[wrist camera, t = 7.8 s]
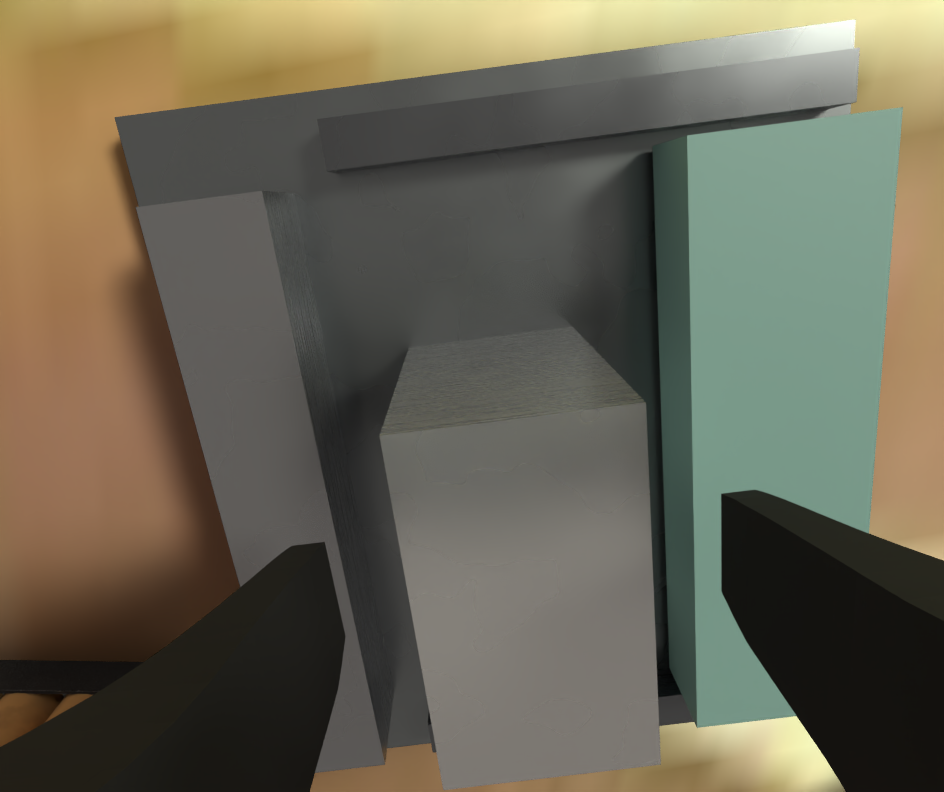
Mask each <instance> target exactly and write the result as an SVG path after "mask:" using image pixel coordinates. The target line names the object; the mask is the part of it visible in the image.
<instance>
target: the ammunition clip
mask: <svg viewBox="0 0 944 792" xmlns="http://www.w3.org/2000/svg"><path fill="white" fill-rule="evenodd" d="M142 663H143V662H103V661H33V660H0V747H1V746H3V745H5V744H7V743H9V742H11V741H13V740H14V739H16V738H18V737H20V736H22V735H24V734H26V733H28V732H29V731H31V730H33V729H35V728H36V727H38V726H40V725H42V724H43V723H45V722H47V721H49V720H50V719H52V718H54V717H56V716H57V715H59V714H61V713H63V712H64V711H66V710H68V709H70V708H71V707H73V706H75V705H77V704H78V703H80V702H82V701H84V700H85V699H87V698H89V697H91V696H92V695H94V694H96V693H97V692H99V691H100V690H102V689H104V688H105V687H107V686H108V685H110V684H112V683H113V682H115V681H116V680H118V679H119V678H121V677H122V676H124V675H125V674H127V673H128V672H130V671H131V670H133V669H134V668H136V667H138V666H139V665H140V664H142Z"/></svg>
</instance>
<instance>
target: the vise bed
mask: <svg viewBox="0 0 944 792" xmlns="http://www.w3.org/2000/svg"><path fill="white" fill-rule="evenodd" d="M855 22H856V20H848V21H840V22H833V23H825V24H818V25H810V26H803V27H795V28H787V29H780V30H772V31H765V32H757V33H750V34H742V35H734V36H727V37H719V38H712V39H704V40H697V41H689V42H682V43H674V44H666V45H659V46H651V47H644V48H636V49H629V50H621V51H613V52H606V53H598V54H591V55H583V56H576V57H568V58H560V59H553V60H545V61H538V62H530V63H523V64H515V65H507V66H500V67H492V68H485V69H477V70H470V71H462V72H454V73H447V74H439V75H432V76H424V77H417V78H409V79H402V80H394V81H386V82H379V83H371V84H364V85H356V86H349V87H341V88H333V89H326V90H318V91H311V92H303V93H296V94H288V95H280V96H273V97H265V98H258V99H250V100H243V101H235V102H227V103H220V104H212V105H205V106H197V107H190V108H182V109H175V110H167V111H159V112H152V113H144V114H137V115H129V116H122V117H115V121H116V125H117V128H118V132H119V135H120V139H121V143H122V146H123V150H124V154H125V157H126V161H127V165H128V168H129V172H130V176H131V179H132V183H133V187H134V190H135V194H136V198H137V201H138V205H139V207H136V210H137V214H138V218H139V221H140V225H141V229H142V232H143V236H144V239H145V243H146V247H147V250H148V254H149V258H150V261H151V265H152V269H153V272H154V276H155V279H156V283H157V287H158V290H159V294H160V298H161V301H162V305H163V308H164V312H165V316H166V319H167V323H168V327H169V330H170V334H171V338H172V341H173V345H174V348H175V352H176V356H177V359H178V363H179V367H180V370H181V374H182V377H183V381H184V385H185V388H186V392H187V396H188V399H189V403H190V407H191V410H192V414H193V417H194V421H195V425H196V428H197V432H198V436H199V439H200V443H201V447H202V450H203V454H204V457H205V461H206V465H207V468H208V472H209V476H210V479H211V483H212V486H213V490H214V494H215V497H216V501H217V505H218V508H219V512H220V516H221V519H222V523H223V526H224V530H225V534H226V537H227V541H228V545H229V548H230V552H231V555H232V559H233V563H234V566H235V570H236V574H237V577H238V581H239V585H240V587H241V586H243V585H244V584H245V583H246V582H247V581H249V580H250V579H251V578H252V577H253V576H254V575H256V574H257V573H258V572H259V571H260V570H261V569H263V568H264V567H265V566H266V565H267V564H269V563H270V562H271V561H272V560H273V559H275V558H276V557H277V556H278V555H280V554H281V553H282V552H284V551H285V550H286V549H288V548H289V547H291V546H294V545H302V544H310V543H319V542H325V545H326V550H327V554H328V559H329V563H330V568H331V572H332V577H333V581H334V586H335V590H336V595H337V600H338V604H339V609H340V613H341V618H342V622H343V627H344V631H345V636H346V637H345V644H344V652H343V660H342V667H341V674H340V680H339V687H338V691H337V695H336V699H335V703H334V706H333V710H332V713H331V717H330V721H329V724H328V728H327V732H326V735H325V739H324V742H323V746H322V749H321V753H320V756H319V760H318V763H317V767H316V771H315V773H317V772H326V771H334V770H343V769H351V768H360V767H368V766H377V765H385V760H386V752H387V748H393V747H401V746H410V745H418V744H427V743H431V745H432V750H433V752H436V746H435V741H434V735H433V729H432V724H431V718H430V713H429V707H428V702H427V696H426V691H425V685H424V680H423V674H422V669H421V663H420V658H419V652H418V647H417V641H416V636H415V630H414V624H413V619H412V613H411V608H410V602H409V597H408V591H407V586H406V580H405V575H404V569H403V564H402V558H401V553H400V547H399V542H398V536H397V531H396V525H395V520H394V514H393V508H392V503H391V497H390V492H389V486H388V481H387V475H386V470H385V464H384V459H383V453H382V448H381V442H380V437H379V436H380V433H381V430H382V427H383V424H384V421H385V418H386V415H387V412H388V409H389V406H390V403H391V400H392V397H393V394H394V391H395V388H396V385H397V382H398V379H399V376H400V373H401V370H402V367H403V364H404V361H405V358H406V355H407V352H408V349H409V347H417V346H425V345H433V344H440V343H448V342H456V341H464V340H472V339H480V338H488V337H496V336H504V335H511V334H519V333H527V332H535V331H543V330H551V329H559V328H567V327H573V328H574V329H575V330H576V331H577V332H578V333H579V334H580V335H581V336H582V337H583V338H584V339H585V340H586V341H587V342H588V343H589V344H590V345H591V346H592V347H593V348H594V349H595V351H596V352H597V353H598V354H599V355H600V356H601V357H602V358H603V359H604V360H605V361H606V362H607V363H608V364H609V365H610V366H611V367H612V368H613V369H614V370H615V371H616V372H617V373H618V374H619V375H620V376H621V377H622V378H623V379H624V380H625V381H626V383H627V384H628V385H629V386H630V387H631V388H632V389H633V390H634V391H635V392H636V393H637V394H638V395H639V396H640V397H641V398H642V399H643V400H644V401H645V402H646V414H647V439H648V464H649V488H650V513H651V538H652V562H653V587H654V611H655V636H656V661H657V685H658V710H659V726H662V725H670V724H679V723H687V722H694V720H693V718H692V716H691V713H690V711H689V709H688V707H687V705H686V703H685V700H684V698H683V696H682V694H681V692H680V690H679V687H678V685H677V683H676V681H675V679H674V677H673V674H672V672H671V670H670V668H669V637H668V606H667V575H666V545H665V514H664V483H663V453H662V422H661V391H660V361H659V330H658V299H657V269H656V238H655V207H654V177H653V146H654V145H658V144H661V143H664V142H667V141H671V140H674V139H677V138H680V137H684V136H687V135H694V134H702V133H710V132H717V131H725V130H733V129H740V128H748V127H756V126H763V125H771V124H779V123H786V122H794V121H802V120H810V119H817V118H825V117H833V116H840V115H848V114H850V111H851V103H855V102H856V101H857V84H858V67H859V50H860V48H854V40H855Z"/></svg>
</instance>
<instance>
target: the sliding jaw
mask: <svg viewBox="0 0 944 792" xmlns="http://www.w3.org/2000/svg"><path fill="white" fill-rule="evenodd" d="M902 110H903V107H902V108H894V109H886V110H879V111H871V112H863V113H856V114H848V115H840V116H833V117H825V118H817V119H810V120H802V121H794V122H786V123H779V124H771V125H763V126H756V127H748V128H740V129H733V130H725V131H717V132H710V133H702V134H694V135H687V136H684V137H680V138H677V139H674V140H671V141H667V142H664V143H661V144H658V145H654V146H653V177H654V207H655V238H656V269H657V299H658V330H659V361H660V391H661V422H662V453H663V483H664V514H665V545H666V575H667V606H668V637H669V668H670V670H671V672H672V674H673V677H674V679H675V681H676V683H677V685H678V687H679V690H680V692H681V694H682V696H683V698H684V700H685V703H686V705H687V707H688V709H689V711H690V713H691V716H692V718H693V720H694V722H695V724H696V726H697V728H698V727H707V726H715V725H724V724H732V723H741V722H749V721H758V720H766V719H775V718H783V717H792V716H796V714H795V713H794V711H793V710H792V708H791V707H790V706H789V704H788V703H787V701H786V700H785V698H784V697H783V695H782V694H781V692H780V691H779V689H778V688H777V687H776V685H775V684H774V682H773V681H772V679H771V678H770V676H769V675H768V673H767V672H766V670H765V669H764V667H763V666H762V664H761V663H760V661H759V660H758V658H757V657H756V655H755V654H754V652H753V651H752V649H751V648H750V646H749V645H748V643H747V642H746V640H745V638H744V636H743V634H742V632H741V630H740V628H739V626H738V625H737V623H736V621H735V619H734V617H733V615H732V612H731V610H730V608H729V606H728V604H727V602H726V600H725V598H724V596H723V594H722V592H721V494H723V493H731V492H739V491H747V490H759V491H762V492H766V493H768V494H771V495H774V496H777V497H780V498H782V499H785V500H787V501H790V502H792V503H795V504H797V505H800V506H802V507H805V508H807V509H810V510H812V511H814V512H817V513H819V514H822V515H824V516H827V517H829V518H831V519H834V520H836V521H839V522H841V523H844V524H846V525H849V526H851V527H854V528H856V529H859V530H861V531H864V532H866V533H869V524H870V511H871V499H872V486H873V474H874V461H875V449H876V436H877V424H878V411H879V399H880V386H881V374H882V361H883V349H884V336H885V323H886V311H887V298H888V286H889V273H890V261H891V248H892V236H893V223H894V211H895V198H896V186H897V173H898V161H899V148H900V135H901V123H902Z"/></svg>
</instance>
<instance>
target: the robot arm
mask: <svg viewBox="0 0 944 792" xmlns="http://www.w3.org/2000/svg"><path fill="white" fill-rule="evenodd" d="M721 592H722V594H723V596H724V598H725V600H726V602H727V604H728V606H729V608H730V610H731V612H732V615H733V617H734V619H735V621H736V623H737V625H738V626H739V628H740V630H741V632H742V634H743V636H744V638H745V640H746V642H747V643H748V645H749V646H750V648H751V649H752V651H753V652H754V654H755V655H756V657H757V658H758V660H759V661H760V663H761V664H762V666H763V667H764V669H765V670H766V672H767V673H768V675H769V676H770V678H771V679H772V681H773V682H774V684H775V685H776V687H777V688H778V689H779V691H780V692H781V694H782V695H783V697H784V698H785V700H786V701H787V703H788V704H789V706H790V707H791V708H792V710H793V711H794V713H795V714H796V716H797V717H798V719H799V720H800V722H801V723H802V725H803V726H804V727H805V729H806V730H807V732H808V733H809V735H810V736H811V738H812V739H813V741H814V742H815V744H816V745H817V747H818V748H819V749H820V751H821V752H822V754H823V755H824V757H825V758H826V760H827V762H828V763H829V765H830V766H831V768H832V770H833V771H834V773H835V774H836V776H837V778H838V779H839V781H840V782H841V784H842V786H843V787H844V789H845V791H846V792H944V561H943V560H940V559H937V558H934V557H932V556H929V555H926V554H923V553H920V552H917V551H915V550H912V549H909V548H906V547H903V546H901V545H898V544H895V543H892V542H890V541H887V540H884V539H882V538H879V537H876V536H874V535H871V534H869V533H866V532H864V531H861V530H859V529H856V528H854V527H851V526H849V525H846V524H844V523H841V522H839V521H836V520H834V519H831V518H829V517H827V516H824V515H822V514H819V513H817V512H814V511H812V510H810V509H807V508H805V507H802V506H800V505H797V504H795V503H792V502H790V501H787V500H785V499H782V498H780V497H777V496H774V495H771V494H768V493H766V492H762V491H759V490H747V491H739V492H731V493H723V494H721ZM345 637H346V636H345V631H344V627H343V622H342V618H341V613H340V609H339V604H338V600H337V595H336V590H335V586H334V581H333V577H332V572H331V568H330V563H329V559H328V554H327V550H326V545H325V542H319V543H310V544H302V545H294V546H291V547H289V548H288V549H286V550H285V551H284V552H282V553H281V554H280V555H278V556H277V557H276V558H275V559H273V560H272V561H271V562H270V563H269V564H267V565H266V566H265V567H264V568H263V569H261V570H260V571H259V572H258V573H257V574H256V575H254V576H253V577H252V578H251V579H250V580H249V581H247V582H246V583H245V584H244V585H243V586H241V587H240V588H239V589H238V590H237V591H235V592H234V593H233V594H232V595H231V596H229V597H228V598H227V599H226V600H225V601H224V602H222V603H221V604H220V605H219V606H218V607H216V608H215V609H214V610H213V611H211V612H210V613H209V614H207V615H206V616H205V617H204V618H202V619H201V620H200V621H198V622H197V623H196V624H195V625H193V626H192V627H191V628H189V629H188V630H187V631H185V632H184V633H183V634H182V635H180V636H179V637H178V638H176V639H175V640H174V641H173V642H171V643H170V644H169V645H167V646H166V647H165V648H163V649H162V650H160V651H159V652H158V653H156V654H155V655H153V656H152V657H151V658H149V659H148V660H146V661H145V662H143V663H142V664H140V665H139V666H138V667H136V668H134V669H133V670H131V671H130V672H128V673H127V674H125V675H124V676H122V677H121V678H119V679H118V680H116V681H115V682H113V683H112V684H110V685H108V686H107V687H105V688H104V689H102V690H100V691H99V692H97V693H96V694H94V695H92V696H91V697H89V698H87V699H85V700H84V701H82V702H80V703H78V704H77V705H75V706H73V707H71V708H70V709H68V710H66V711H64V712H63V713H61V714H59V715H57V716H56V717H54V718H52V719H50V720H49V721H47V722H45V723H43V724H42V725H40V726H38V727H36V728H35V729H33V730H31V731H29V732H28V733H26V734H24V735H22V736H20V737H18V738H16V739H14V740H13V741H11V742H9V743H7V744H5V745H3V746H1V747H0V792H310V788H311V785H312V781H313V778H314V774H315V771H316V767H317V763H318V760H319V756H320V753H321V749H322V746H323V742H324V739H325V735H326V732H327V728H328V724H329V721H330V717H331V713H332V710H333V706H334V703H335V699H336V695H337V691H338V687H339V680H340V674H341V667H342V660H343V652H344V644H345Z"/></svg>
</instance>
